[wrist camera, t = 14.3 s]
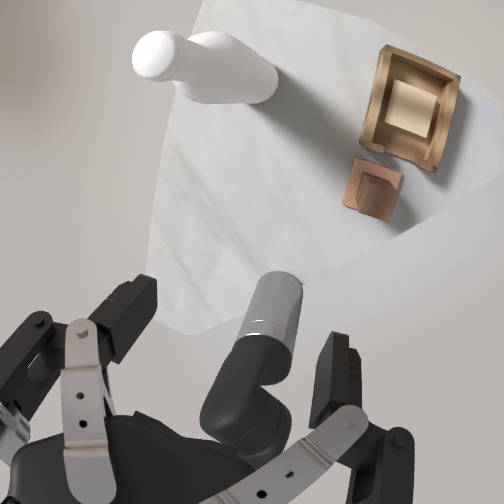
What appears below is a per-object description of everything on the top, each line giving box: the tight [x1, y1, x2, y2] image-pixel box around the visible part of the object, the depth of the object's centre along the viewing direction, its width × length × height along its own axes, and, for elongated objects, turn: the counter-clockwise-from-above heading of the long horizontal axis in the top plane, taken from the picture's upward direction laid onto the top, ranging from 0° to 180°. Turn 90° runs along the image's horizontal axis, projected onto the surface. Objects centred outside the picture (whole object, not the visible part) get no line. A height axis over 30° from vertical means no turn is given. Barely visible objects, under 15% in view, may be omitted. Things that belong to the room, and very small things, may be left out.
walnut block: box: [355, 172, 399, 222], centre depth 41 cm, size 4×4×7 cm
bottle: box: [132, 31, 279, 104], centre depth 28 cm, size 8×8×30 cm
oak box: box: [359, 44, 461, 173], centre depth 35 cm, size 16×12×5 cm
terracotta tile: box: [342, 157, 402, 209], centre depth 44 cm, size 8×8×1 cm
